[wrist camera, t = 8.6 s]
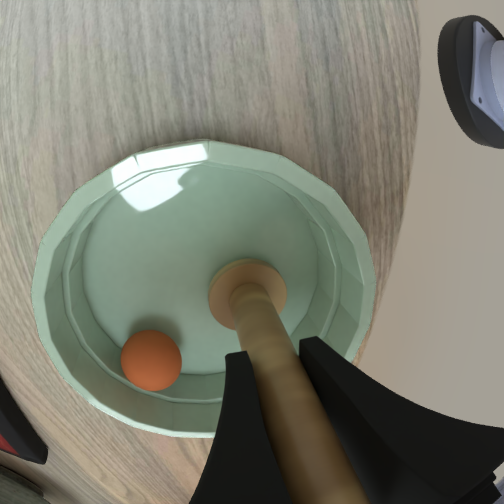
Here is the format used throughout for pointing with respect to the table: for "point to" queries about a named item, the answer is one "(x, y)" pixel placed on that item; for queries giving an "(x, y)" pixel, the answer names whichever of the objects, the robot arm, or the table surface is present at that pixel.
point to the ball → (151, 360)
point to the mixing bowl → (192, 272)
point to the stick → (284, 386)
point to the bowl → (18, 489)
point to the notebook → (18, 432)
